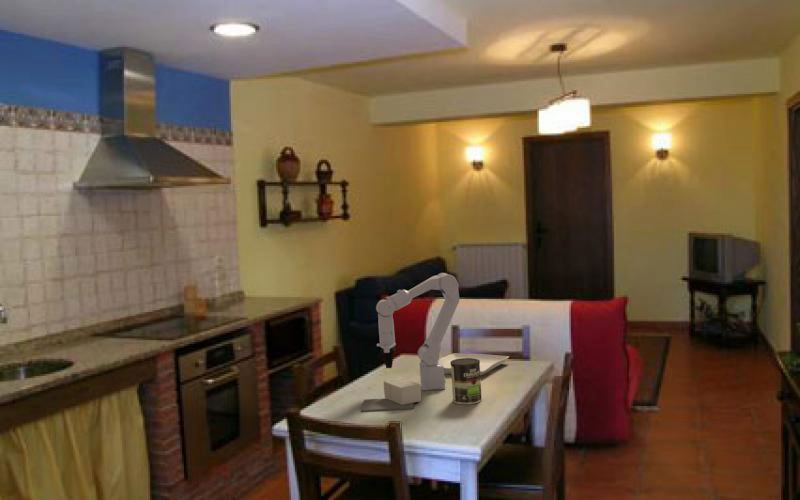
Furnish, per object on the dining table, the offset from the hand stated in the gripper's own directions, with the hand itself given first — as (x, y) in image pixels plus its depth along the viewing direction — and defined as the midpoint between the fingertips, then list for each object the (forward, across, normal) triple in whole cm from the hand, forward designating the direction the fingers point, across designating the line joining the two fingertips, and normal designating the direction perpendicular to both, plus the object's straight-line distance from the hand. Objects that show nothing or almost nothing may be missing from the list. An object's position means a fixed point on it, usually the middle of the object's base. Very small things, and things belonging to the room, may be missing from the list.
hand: (389, 367), depth 272 cm
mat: (+9, +17, 0) cm, 19 cm away
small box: (+6, +7, +1) cm, 9 cm away
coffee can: (+10, +17, +28) cm, 34 cm away
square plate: (+10, -30, +31) cm, 44 cm away
